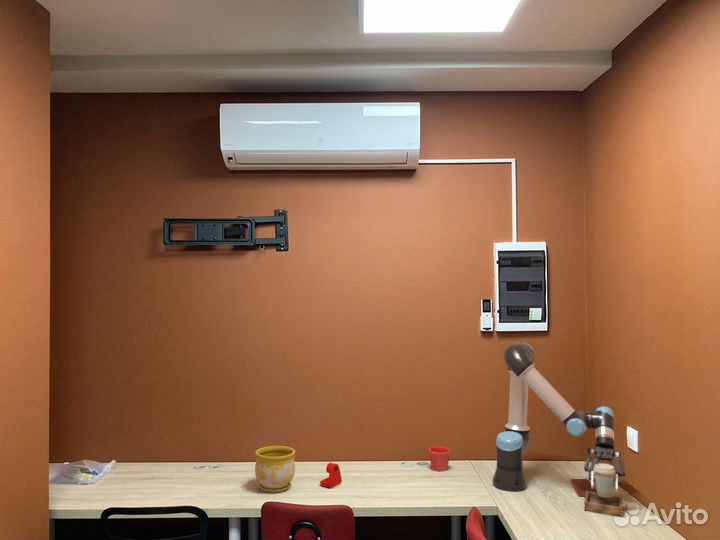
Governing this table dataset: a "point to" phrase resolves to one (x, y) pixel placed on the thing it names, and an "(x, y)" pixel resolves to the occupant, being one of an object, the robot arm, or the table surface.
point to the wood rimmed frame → (603, 504)
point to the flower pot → (439, 458)
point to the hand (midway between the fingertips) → (604, 488)
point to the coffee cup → (604, 479)
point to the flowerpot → (275, 468)
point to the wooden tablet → (582, 487)
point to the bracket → (332, 476)
